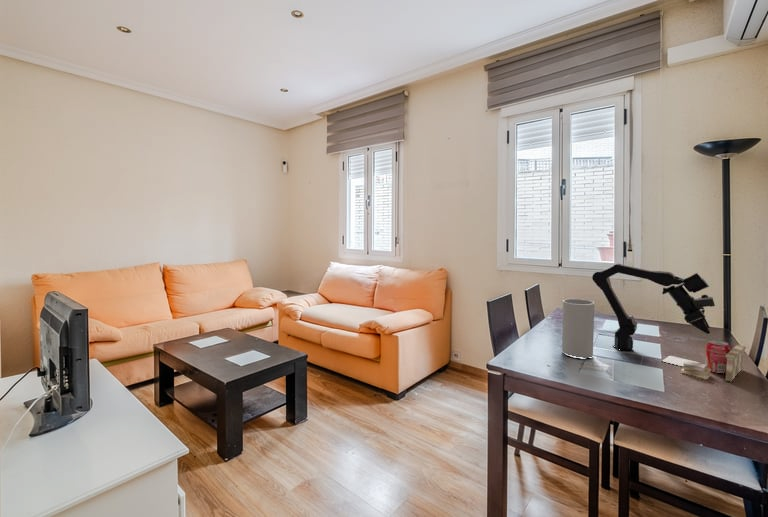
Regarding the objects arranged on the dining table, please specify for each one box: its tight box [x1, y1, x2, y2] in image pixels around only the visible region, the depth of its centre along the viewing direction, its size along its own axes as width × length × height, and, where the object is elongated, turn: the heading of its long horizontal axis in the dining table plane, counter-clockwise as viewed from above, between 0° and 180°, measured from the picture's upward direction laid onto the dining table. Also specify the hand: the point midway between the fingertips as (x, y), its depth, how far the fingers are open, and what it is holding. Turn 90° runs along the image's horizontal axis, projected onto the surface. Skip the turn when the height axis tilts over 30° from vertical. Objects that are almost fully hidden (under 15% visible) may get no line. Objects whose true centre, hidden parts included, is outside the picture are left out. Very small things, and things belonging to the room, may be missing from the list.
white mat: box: [661, 355, 700, 368], centre depth 150 cm, size 10×10×1 cm
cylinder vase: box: [561, 298, 595, 358], centre depth 160 cm, size 12×12×25 cm
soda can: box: [704, 339, 731, 375], centre depth 140 cm, size 7×7×12 cm
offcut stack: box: [680, 360, 712, 378], centre depth 138 cm, size 8×5×4 cm, turn 35°
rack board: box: [725, 344, 747, 382], centre depth 136 cm, size 18×2×10 cm, turn 125°
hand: (708, 330), depth 146 cm, fingers open, 9 cm apart
